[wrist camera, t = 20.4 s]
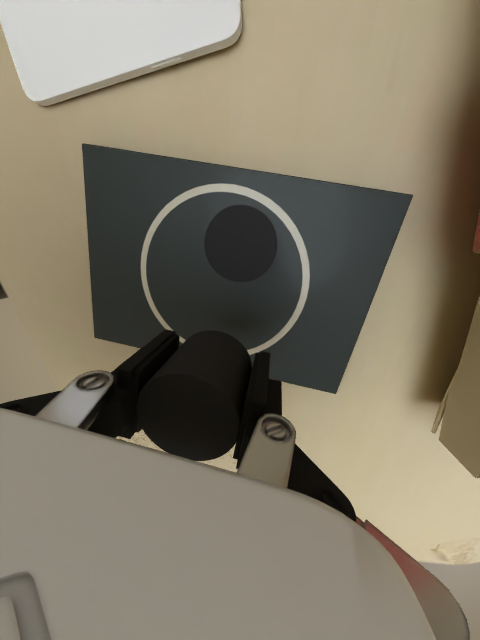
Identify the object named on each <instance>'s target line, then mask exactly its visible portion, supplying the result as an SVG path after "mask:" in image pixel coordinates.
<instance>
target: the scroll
mask: <svg viewBox="0 0 480 640" xmlns="http://www.w3.org/2000/svg"><path fill="white" fill-rule="evenodd" d="M472 252H477V253H480V211H479V217H478V222H477V228H476V233H475V239H474V244H473V250H472ZM443 414H444V417H443ZM442 417H443V422H442V427H441V432H440V436H439V441H440V442H441V443H442V444H443V445H444V446H445V447H446V448H447V449H448V450H449V451H450V452H451V453H452V454H453V455H454V456H455V457H456V458H457V459H458V460H459V462H460V463H461V464H462V465H463V466H464V467H465V468H466V469H467V470H468V471H469V472H470V473H471V474H472V475H473V476H474V477H475V478H480V295H479V299H478V302H477V306H476V309H475V312H474V316H473V319H472V323H471V326H470V329H469V333H468V336H467V340H466V343H465V347H464V350H463V353H462V357H461V360H460V364H459V366H458V368H457V371H456V373H455V375H454V377H453V379H452V381H451V383H450V385H449V387H448V389H447V391H446V393H445V395H444V398H443V400H442V402H441V404H440V406H439V409H438V412H437V415H436V418H435V421H434V425H433V428H432V431H431V432H432V433H434V434H435V433H436V431H437V428H438V426H439V424H440V421H441V419H442Z"/></svg>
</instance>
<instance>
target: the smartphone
mask: <svg viewBox="0 0 480 640" xmlns="http://www.w3.org/2000/svg"><path fill="white" fill-rule="evenodd" d="M0 23H1V26H2V29H3V32H4V35H5V38H6V41H7V44H8V47H9V50H10V52H11V55H12V58H13V61H14V64H15V67H16V70H17V73H18V76H19V79H20V82H21V84H22V87H23V89H24V92H25V94H26V95H27V96H28V98H29V99H31V100H32V101H34V102H36V103H38V104H39V105H42V106H48V105H52V104H55V103H58V102H61V101H64V100H67V99H70V98H73V97H76V96H79V95H82V94H86V93H89V92H92V91H95V90H98V89H101V88H104V87H107V86H110V85H113V84H116V83H119V82H122V81H125V80H128V79H132V78H135V77H138V76H141V75H144V74H147V73H150V72H153V71H156V70H159V69H162V68H165V67H168V66H171V65H174V64H178V63H181V62H184V61H187V60H190V59H193V58H196V57H199V56H202V55H205V54H208V53H211V52H214V51H217V50H220V49H224V48H226V47H229V46H231V45H233V44H234V43H235V42H236V41H237V40H238V38H239V36H240V34H241V30H242V12H241V2H240V0H0Z"/></svg>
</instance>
